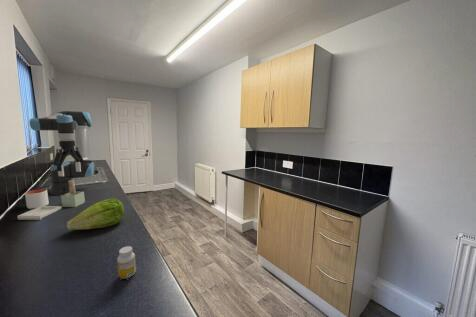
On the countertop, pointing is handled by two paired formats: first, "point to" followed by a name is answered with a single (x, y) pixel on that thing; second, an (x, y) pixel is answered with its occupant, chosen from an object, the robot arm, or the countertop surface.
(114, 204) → the lettuce
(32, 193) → the cup
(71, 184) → the dowel
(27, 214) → the dish
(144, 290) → the countertop surface
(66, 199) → the pen pot
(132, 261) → the supplement bottle
